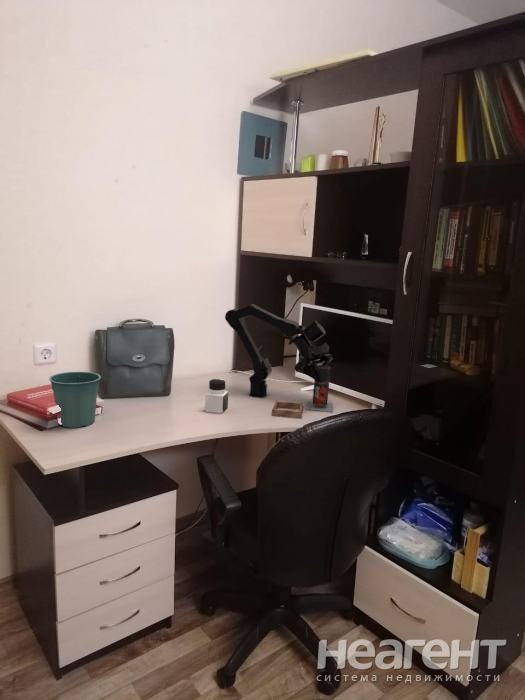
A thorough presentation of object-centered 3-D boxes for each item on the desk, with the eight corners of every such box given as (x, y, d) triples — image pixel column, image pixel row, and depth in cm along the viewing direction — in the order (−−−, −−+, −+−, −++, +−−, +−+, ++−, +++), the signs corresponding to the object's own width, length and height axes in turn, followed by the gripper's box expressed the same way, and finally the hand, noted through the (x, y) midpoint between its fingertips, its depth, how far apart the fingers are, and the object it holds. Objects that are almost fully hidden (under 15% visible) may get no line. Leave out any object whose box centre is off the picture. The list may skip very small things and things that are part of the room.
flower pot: (83, 411, 183) (81, 368, 179) (111, 421, 173) (110, 377, 170) (41, 422, 170) (38, 376, 166) (69, 434, 160) (67, 386, 157)
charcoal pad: (307, 410, 195) (307, 409, 195) (308, 402, 205) (308, 401, 205) (332, 412, 194) (332, 411, 194) (333, 404, 203) (333, 403, 203)
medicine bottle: (222, 414, 186) (223, 383, 184) (204, 412, 188) (205, 381, 185) (228, 408, 193) (229, 378, 191) (210, 406, 194) (211, 376, 192)
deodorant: (328, 402, 201) (331, 366, 198) (325, 406, 195) (328, 369, 192) (314, 400, 203) (317, 364, 200) (310, 404, 197) (313, 367, 194)
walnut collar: (271, 415, 187) (272, 409, 186) (275, 406, 197) (276, 400, 197) (301, 418, 185) (301, 412, 185) (303, 409, 196) (303, 403, 195)
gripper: (302, 339, 189) (323, 373, 184) (331, 334, 203) (351, 366, 198) (285, 355, 196) (305, 388, 191) (314, 349, 210) (333, 381, 205)
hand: (324, 380), depth 196 cm, fingers closed on deodorant, 6 cm apart
